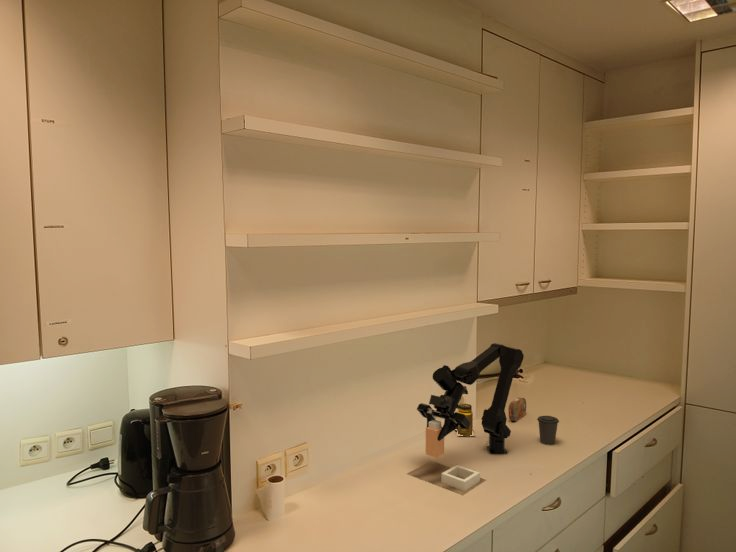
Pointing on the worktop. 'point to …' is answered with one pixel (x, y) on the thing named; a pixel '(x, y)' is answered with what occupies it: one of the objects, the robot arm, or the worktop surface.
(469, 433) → the condiment
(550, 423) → the coffee cup
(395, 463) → the worktop surface
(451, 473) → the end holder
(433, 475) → the board
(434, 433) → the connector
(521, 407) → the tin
